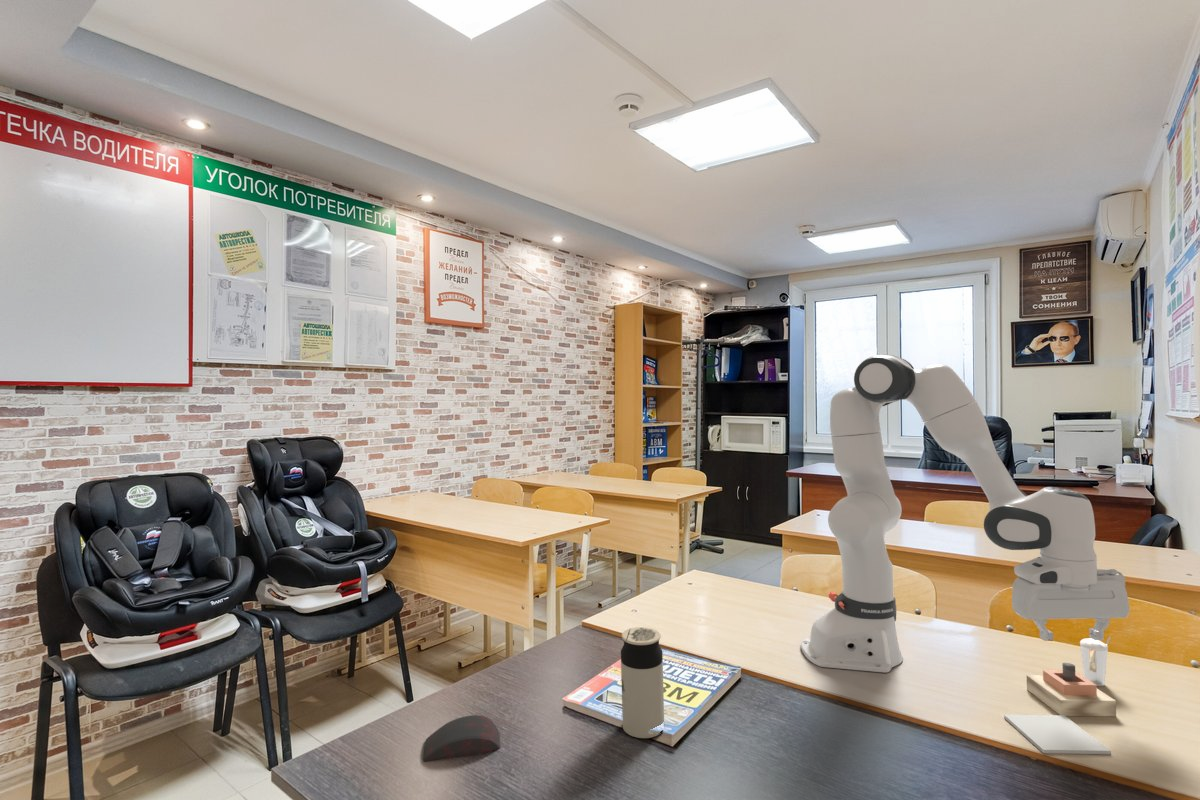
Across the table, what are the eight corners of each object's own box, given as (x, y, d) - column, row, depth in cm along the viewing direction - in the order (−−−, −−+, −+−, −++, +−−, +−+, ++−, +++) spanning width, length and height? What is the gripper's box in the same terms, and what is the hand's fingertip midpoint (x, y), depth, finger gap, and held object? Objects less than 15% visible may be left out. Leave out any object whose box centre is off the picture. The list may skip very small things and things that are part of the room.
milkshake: (1118, 689, 121) (1117, 641, 121) (1088, 687, 123) (1087, 639, 122) (1104, 678, 126) (1103, 632, 126) (1075, 676, 127) (1075, 631, 127)
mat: (1043, 753, 101) (1043, 749, 101) (1004, 717, 112) (1004, 714, 112) (1110, 754, 100) (1110, 750, 100) (1064, 718, 111) (1064, 715, 111)
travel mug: (668, 719, 115) (666, 628, 114) (659, 743, 107) (656, 645, 107) (629, 713, 117) (626, 624, 117) (617, 736, 110) (614, 640, 110)
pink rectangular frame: (1064, 694, 114) (1064, 684, 114) (1043, 679, 120) (1043, 670, 120) (1096, 695, 114) (1096, 685, 114) (1074, 680, 120) (1073, 670, 120)
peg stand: (1061, 715, 112) (1060, 676, 112) (1026, 689, 122) (1026, 653, 122) (1116, 716, 112) (1115, 677, 112) (1077, 689, 122) (1076, 653, 122)
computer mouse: (500, 754, 106) (500, 732, 106) (422, 766, 103) (421, 744, 103) (498, 729, 114) (498, 709, 114) (425, 740, 111) (425, 719, 111)
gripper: (1110, 564, 119) (1114, 632, 119) (1005, 566, 121) (1008, 633, 120) (1137, 573, 113) (1140, 645, 113) (1025, 575, 114) (1028, 646, 114)
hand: (1071, 639), depth 117 cm, fingers open, 8 cm apart
